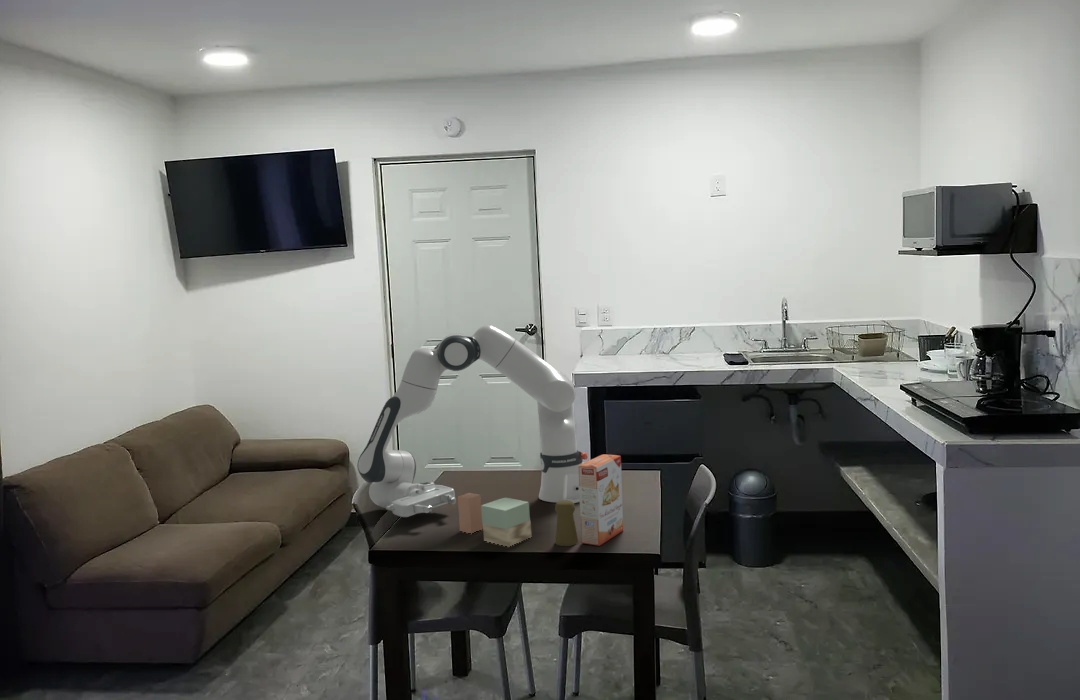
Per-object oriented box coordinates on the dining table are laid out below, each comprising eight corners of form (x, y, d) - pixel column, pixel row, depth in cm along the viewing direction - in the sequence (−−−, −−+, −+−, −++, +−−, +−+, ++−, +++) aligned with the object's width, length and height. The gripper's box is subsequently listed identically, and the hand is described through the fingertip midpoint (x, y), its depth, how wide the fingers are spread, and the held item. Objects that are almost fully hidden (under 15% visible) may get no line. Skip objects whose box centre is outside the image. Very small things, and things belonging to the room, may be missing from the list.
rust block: (471, 527, 237) (469, 492, 236) (482, 529, 234) (480, 494, 233) (460, 531, 234) (457, 496, 233) (471, 534, 231) (468, 498, 230)
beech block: (507, 532, 231) (506, 515, 231) (531, 538, 225) (530, 520, 225) (484, 542, 225) (482, 523, 224) (508, 548, 219) (507, 529, 218)
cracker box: (601, 547, 215) (597, 466, 213) (580, 544, 218) (576, 465, 216) (625, 530, 227) (621, 454, 224) (605, 528, 230) (601, 453, 228)
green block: (505, 514, 231) (504, 497, 230) (529, 520, 225) (528, 502, 224) (482, 523, 224) (481, 505, 224) (506, 529, 218) (505, 510, 218)
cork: (554, 539, 223) (551, 498, 222) (576, 537, 223) (574, 497, 222) (556, 547, 217) (554, 505, 216) (579, 545, 217) (577, 503, 216)
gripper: (382, 497, 242) (413, 503, 233) (435, 480, 258) (466, 486, 248) (383, 518, 243) (415, 526, 234) (436, 500, 258) (468, 507, 249)
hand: (442, 505), depth 241 cm, fingers open, 8 cm apart
